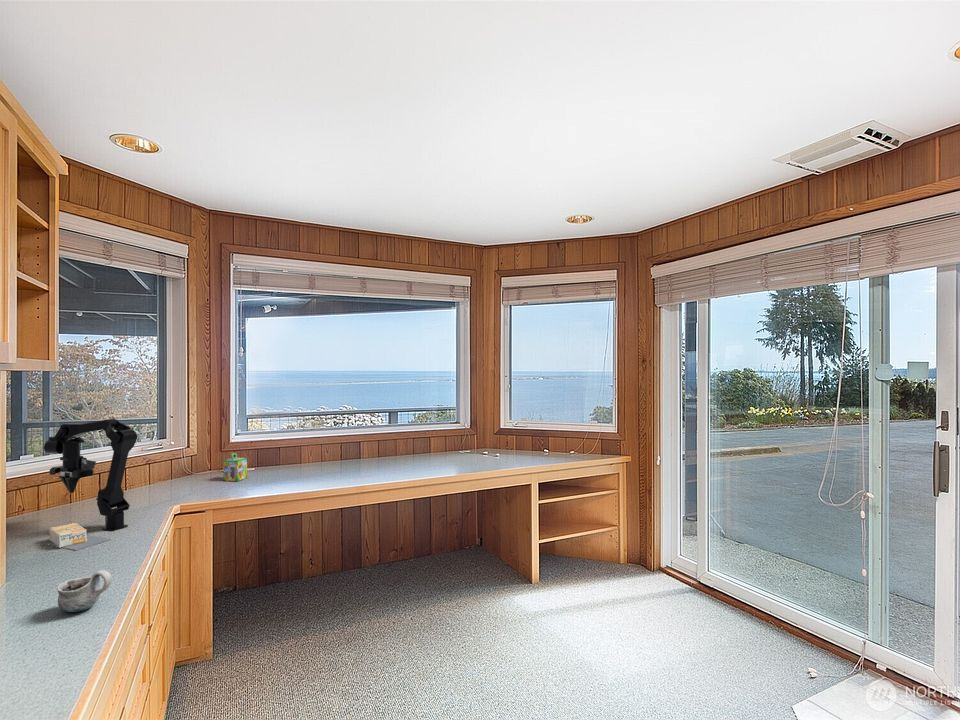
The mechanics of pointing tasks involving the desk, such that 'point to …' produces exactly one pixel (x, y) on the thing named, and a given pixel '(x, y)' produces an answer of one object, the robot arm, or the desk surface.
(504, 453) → the desk surface
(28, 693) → the desk surface
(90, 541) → the mat
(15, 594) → the desk surface
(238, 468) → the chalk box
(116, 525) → the robot arm
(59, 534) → the supplement box
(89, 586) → the mug
